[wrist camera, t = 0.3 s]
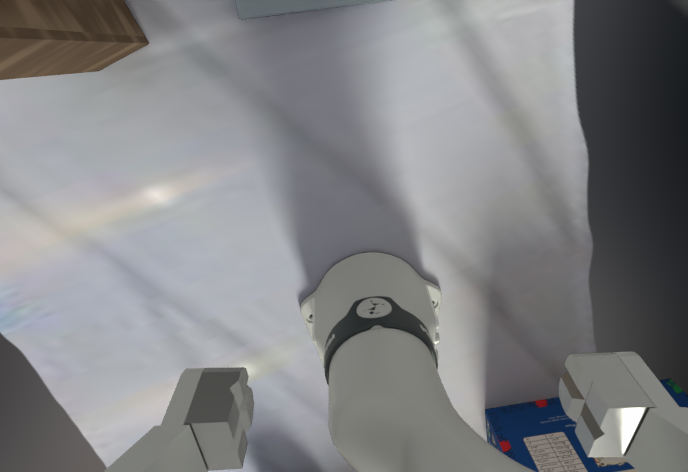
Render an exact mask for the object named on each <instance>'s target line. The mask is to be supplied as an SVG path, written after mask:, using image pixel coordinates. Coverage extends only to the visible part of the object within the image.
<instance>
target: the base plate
mask: <svg viewBox="0 0 688 472" xmlns="http://www.w3.org/2000/svg"><path fill="white" fill-rule="evenodd" d="M383 1H390V0H235V2H236V7H237V12H238V17H239V19H240V20H245V19H253V18H260V17H268V16H276V15H283V14H291V13H299V12H306V11H314V10H322V9H329V8H337V7H344V6H352V5H360V4H367V3H375V2H383Z"/></svg>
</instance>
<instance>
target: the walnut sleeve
mask: <svg viewBox="0 0 688 472" xmlns="http://www.w3.org/2000/svg"><path fill="white" fill-rule="evenodd" d="M147 44H149V42H148V41H147V39H146V37H145V36H144V34H143V32H142V30H141V29H140V27H139V25H138V24H137V22H136V20H135V19H134V17H133V15H132V13H131V12H130V10H129V8H128V7H127V5H126V3H125V2H124V0H0V80H4V79H16V78H27V77H38V76H49V75H61V74H72V73H83V72H94V71H100V70H101V69H103V68H105V67H107V66H109V65H111V64H112V63H114V62H116V61H118V60H120V59H122V58H124V57H125V56H127V55H129V54H131V53H133V52H135V51H136V50H138V49H140V48H142V47H144V46H146V45H147Z"/></svg>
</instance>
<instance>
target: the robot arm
mask: <svg viewBox="0 0 688 472" xmlns="http://www.w3.org/2000/svg"><path fill="white" fill-rule="evenodd" d="M441 297H442V294H441V290H440V288H439V287H438V286H437V285H435V284H433V283H431V282H429V281H427V280H424V279H423V278H421V277H420V276H419V275H418V274H417V273H416V271H415V270H414V269H413V268H412V267H411V266H410V265H408V264H407V263H406V262H404V261H403V260H401V259H399V258H397V257H395V256H392V255H389V254H384V253H377V252H369V253H361V254H356V255H353V256H350V257H348V258H346V259H344V260H342V261H340V262H338V263H337V264H336V265H334V266H333V267H332V268H331V269H330V270H329V271H328V272H327V273H326V275H325V276H324V277H323V279H322V281H321V283H320V284H319V286H318V288H317V289H316V291H315V292H314V293H312V294H311V295H309V296H308V297H307V298H306V299H305V300H304V301H303V302H302V303H301V305H300V309H301V314H302V316H303V319H304V321H305V323H306V326H307V328H308V330H309V333H310V335H311V337H312V340H313V342H314V344H315V347H316V349H317V351H318V353H319V356H320V358H321V360H322V363H323V365H324V368H325V377H326V380H327V384H328V386H329V423H328V424H329V431H330V435H331V438H332V441H333V443H334V445H335V447H336V449H337V450H338V452H339V453H340V454H341V455H342V457H343V458H344V459H345V460H346V461H347V463H348V464H349V465H350V466H351V467H352V468H353V469H354V470H356V471H357V472H535V471H533V470H531V469H529V468H527V467H525V466H523V465H521V464H520V463H518V462H516V461H514V460H513V459H511V458H510V457H508V456H506V455H505V454H503V453H502V452H500V451H499V450H498V449H496V448H495V447H494V446H492V445H491V444H490V443H488V442H487V441H486V440H484V439H483V438H482V437H481V436H480V435H478V434H477V433H476V432H475V431H474V430H473V429H472V428H471V427H470V426H469V425H468V424H467V423H466V422H465V421H464V420H463V419H462V418H461V417H460V415H459V414H458V413H457V411H456V410H455V409H454V407H453V405H452V403H451V402H450V399H449V397H448V395H447V393H446V391H445V388H444V386H443V384H442V381H441V379H440V376H439V374H438V371H437V368H438V351H437V349H436V348H435V346H434V344H438V343H439V333H436V329H437V328H439V322H438V319H437V318H438V313H439V308H440V303H441ZM432 301H433V302H432ZM311 314H312V317H311V316H310V315H311ZM565 366H566V368H567V370H568V372H566V373H565V374H564V375H563V376H561V378H560V382H559V386H558V387H559V398H560V401H561V404H562V407H563V409H564V411H565V413H566V415H567V416H568V417H570V418H571V419H572V420H574V421H575V422H576V423H577V425H576V429H575V433H576V435H577V437H578V439H579V441H580V443H581V445H582V447H583V449H584V451H585V453H586V455H587V457H625V458H624V459H625V460H626V461H627V462H628V463H629V464H631V465H632V466H633V467H634V468H635V469H636V470H637V471H638V472H688V408H687V407H679V406H678V405H677V403H676V402H675V401H674V399H673V398H672V397H671V396H670V394H669V393H668V392H667V390H666V389H665V388H664V387H663V385H662V384H661V383H660V382H659V380H658V379H657V378H656V376H655V375H654V374H653V373H652V371H651V370H650V369H649V367H648V366H647V365H646V364H645V362H644V361H643V360H642V358H641V357H640V356H639V355H638V354H637V353H635V352H634V351H632V352H612V353H610V352H604V353H603V352H602V353H583V354H570V355H569V356H568V357H567V359H566V362H565ZM247 381H248V374H247V370H246V368H243V367H242V368H190V369H185V371H184V372H183V373H182V374H181V377H180V379H179V382H178V384H177V387H176V389H175V391H174V394H173V396H172V399H171V401H170V404H169V406H168V409H167V411H166V414H165V416H164V419H163V421H162V424H161V426H154V427H153V428H152V429H151V430H150V431H149V432H147V433H146V434H145V435H144V436H143V437H142V438H141V439H140V440H139V441H137V442H136V443H135V444H134V445H133V446H132V447H131V448H130V449H128V450H127V451H126V452H125V453H124V454H123V455H122V456H121V457H120V458H118V459H117V460H116V461H115V462H114V463H113V464H112V465H111V466H109V467H108V468H107V469H106V470H105V471H104V472H208V471H209V470H225V469H242V468H243V463H244V458H245V453H246V449H247V444H248V442H247V438H246V435H245V432H246V431H247V430H248V429H249V428H250V427H251V424H252V418H253V408H254V401H253V393H252V389H251V388H250V387H249V386H247Z"/></svg>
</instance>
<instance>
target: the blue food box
mask: <svg viewBox="0 0 688 472" xmlns="http://www.w3.org/2000/svg"><path fill="white" fill-rule="evenodd" d="M659 382H660V383H661V384H662V385H663V387H664V388H665V389H666V390H667V392H668V393H669V394H670V396H671V397H672V398H673V399H674V401H675V402H676V403H677V405H678V406H679V407H687V408H688V395H687V394H686V393H685V392H684V391H683V390H682V389H681V388H680V387H679V386H677V385H676V384H675V383H674V382H673V381H672V380H671V379H665V380H659ZM485 415H486V427H487V438H488V443H490V444H491V445H492V446H494V447H495V448H496V449H498V450H499V451H500V452H502V453H503V454H505V455H506V456H508V457H510V458H511V459H513V460H514V461H516V462H518V463H520V464H521V465H523V466H525V467H527V468H529V469H531V470H533V471H535V472H638V471H637V470H636V469H635V468H634V467H633V466H632V465H631V464H629V463H628V462H627V461H626V460H625V459H624V458H625V457H587V455H586V453H585V451H584V449H583V447H582V445H581V443H580V441H579V439H578V437H577V435H576V433H575V429H576V425H577V423H576V422H575V421H574V420H572V419H571V418H570V417H568V416H567V415H566V413H565V411H564V409H563V407H562V404H561V401H560V398H559V397H557V398H551V399H545V400H539V401H533V402H527V403H521V404H515V405H509V406H503V407H497V408H491V409H485Z"/></svg>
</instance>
